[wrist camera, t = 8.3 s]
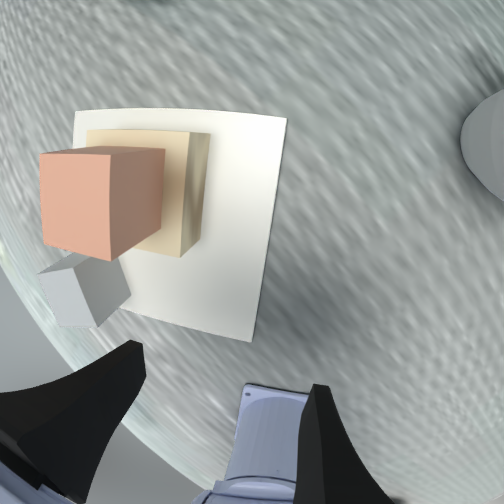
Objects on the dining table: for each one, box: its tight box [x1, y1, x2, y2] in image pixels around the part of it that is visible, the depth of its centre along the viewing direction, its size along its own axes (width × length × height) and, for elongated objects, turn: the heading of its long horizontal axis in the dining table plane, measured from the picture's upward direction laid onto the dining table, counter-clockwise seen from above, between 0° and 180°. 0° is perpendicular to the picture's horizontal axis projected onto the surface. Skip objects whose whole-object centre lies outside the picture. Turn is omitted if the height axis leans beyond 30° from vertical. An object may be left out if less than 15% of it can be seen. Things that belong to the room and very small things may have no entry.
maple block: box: [86, 129, 211, 258], centre depth 18 cm, size 7×7×4 cm
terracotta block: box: [40, 146, 165, 262], centre depth 14 cm, size 4×4×5 cm
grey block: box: [37, 252, 131, 328], centre depth 21 cm, size 4×4×5 cm
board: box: [73, 108, 287, 342], centre depth 21 cm, size 16×16×1 cm
